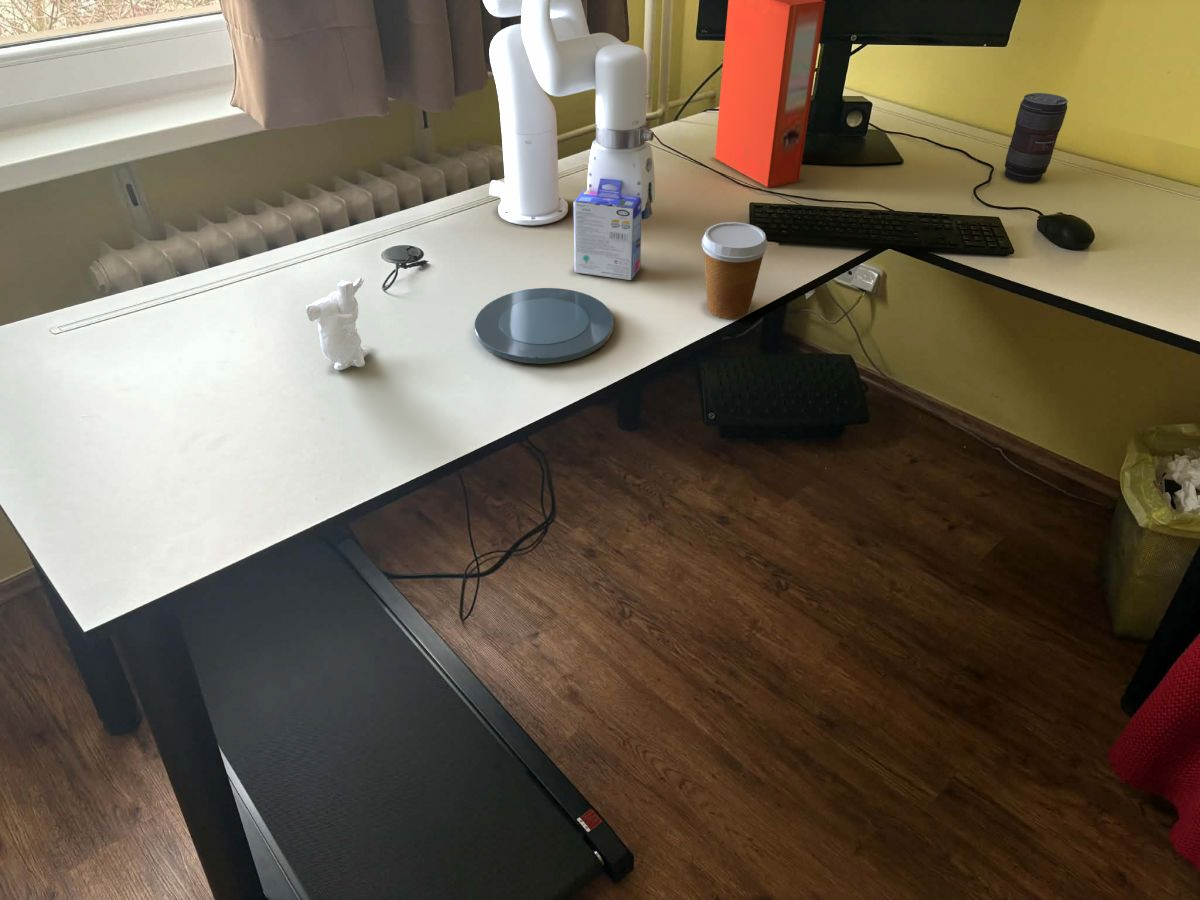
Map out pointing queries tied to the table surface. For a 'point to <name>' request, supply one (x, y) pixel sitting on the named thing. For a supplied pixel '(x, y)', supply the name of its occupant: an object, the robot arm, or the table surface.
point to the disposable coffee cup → (732, 267)
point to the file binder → (767, 86)
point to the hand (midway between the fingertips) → (619, 246)
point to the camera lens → (1034, 136)
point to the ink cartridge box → (607, 232)
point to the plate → (543, 325)
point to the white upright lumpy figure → (339, 326)
